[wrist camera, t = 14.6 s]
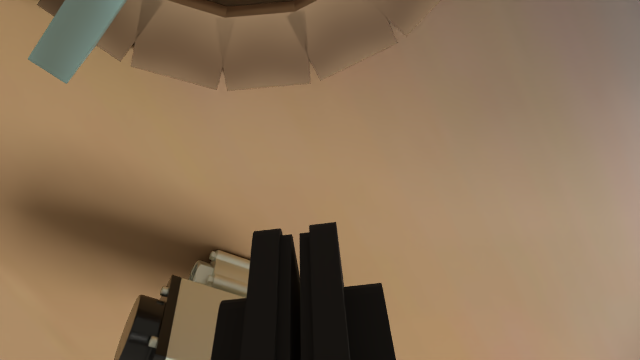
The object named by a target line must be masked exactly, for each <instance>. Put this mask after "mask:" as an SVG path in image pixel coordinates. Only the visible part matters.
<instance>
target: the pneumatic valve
mask: <svg viewBox="0 0 640 360" xmlns="http://www.w3.org/2000/svg"><path fill="white" fill-rule="evenodd" d="M209 259H210V260H212V261H211V263H206V262H203V261H200V260H198V261H197V262H196V263H195V265H194V267H193V269H192V271H191V274H190V277H189V280H187V279H184V278H181V277H178V276H174V275H172V276H171V278H170V280H169V282H168V284H167V286H166V287H165V286H163V287H162V289H161V292H160V295H161V298H160V300H158V299H155V298H152V297H148V296H145V295H139V296H138V298H137V299H136V301H135V303H134V305H133V308H132V310H131V312H130V315H129V317H128V320H127V322H126V325H125V327H124V330H123V333H122V336H121V339H120V342H119V345H118V348H117V351H116V354H115V358H114V360H211V354H212V347H213V341H214V335H215V328H216V322H217V316H218V309H219V305H220V303H221V301H222V300H231V299H240V298H246V296H247V287H248V277H249V267H250V260H247V259H244V258H241V257H238V256H235V255H232V254H229V253H226V252H223V251H220V250H217V251H215V252H214V251H212V252H211V254H210V257H209Z"/></svg>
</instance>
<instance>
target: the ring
mask: <svg viewBox="0 0 640 360" xmlns="http://www.w3.org/2000/svg"><path fill="white" fill-rule="evenodd" d="M440 1H441V0H294V1H286V2H275V3H263V4H252V5H240V6H228V7H227V6H224V5H221V4H218V3H214V2H211V1H208V0H40V1H39V2H38V4H37V5H38V6H40V7H41V8H42V9H44V10H45V11H47V12H48V13H50V14H51V15H53V16H54V18H53V20H52V21H51V23H50V25H49V26H48V28H47V29H46V31H45V32H44V34H43V36H42V37H41V39H40V40H39V42H38V43H37V45H36V47H35V48H34V50H33V51H32V53H31V54H30V56H29V58H28V60H30V61H31V62H33V63H35V64H36V65H38V66H39V67H41V68H42V69H44V70H46V71H47V72H49V73H50V74H52V75H53V76H55V77H56V78H58V79H60V80H61V81H63V82H64V83H66V84H67V83H68V82H69V80H70V79H71V78H72V76H73V75H74V74H75V72H76V71H77V70H78V68H79V67H80V66H81V64H82V63H83V62H84V60H85V59H86V58H87V56H88V55H89V54H90V53H91V51H92V50H93V49H94V47H95V46H96V45H97V46H98V47H100V48H101V49H103V50H104V51H105V52H107V53H108V54H110V55H111V56H113V57H114V58H116V59H117V60H119V61H121V60H122V59H123V57H124V56H125V55H126V53H127V52H128V50H129V49H130V48H131V46H132V45H133V43H134V42H135V45H134V51H133V56H132V62H131V67H134V68H138V69H142V70H145V71H149V72H153V73H156V74H160V75H164V76H167V77H171V78H175V79H178V80H182V81H186V82H189V83H193V84H196V85H200V86H204V87H207V88H211V89H215V90H217V87H218V83H219V79H220V76H221V72H222V68H223V69H224V75H225V81H226V87H227V91H232V90H244V89H255V88H266V87H277V86H288V85H299V84H311V81H310V68H309V60H310V62H311V64H312V66H313V68H314V69H315V71H316V73H317V75H318V77H319V79H320V81H321V80H323V79H325V78H327V77H329V76H331V75H333V74H335V73H337V72H339V71H341V70H344V69H346V68H348V67H350V66H352V65H354V64H356V63H358V62H360V61H362V60H364V59H366V58H368V57H370V56H372V55H374V54H376V53H378V52H380V51H382V50H384V49H386V48H388V47H390V46H393V45H395V44H397V40H396V38H395V36H394V33H393V31H392V29H391V26H390V24H389V22H388V20H389V21H390V22H391V23H392V24H393V25H394V26H395V27H397V28H398V29H399V30H400V31H401V32H402V33H403V34H404V35H405V36H407V35H408V34H409V33H410V32H411V31H412V30H413V29H414V28H415V27H416V26H417V25H418V24H419V23H420V22H421V21H422V20H423V19H424V18H425V17H426V15H427V14H428V13H429V12H430V11H431V10H432V9H433V8H434V7H435V6H436V5H437V4H438V3H439V2H440Z"/></svg>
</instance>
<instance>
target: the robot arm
mask: <svg viewBox="0 0 640 360" xmlns="http://www.w3.org/2000/svg"><path fill="white" fill-rule="evenodd" d="M309 231H310V232H309V233H300V276H299V270H298V264H297V259H296V253H295V248H294V242H293V237H292V235H282V231H281V229H272V230H263V231H254V232H253V238H252V248H251V257H250V267H249V277H248V287H247V296H246V298H240V299H231V300H222V301H221V303H220V305H219V309H218V316H217V322H216V328H215V335H214V341H213V347H212V354H211V360H396V358H395V352H394V347H393V342H392V336H391V331H390V325H389V320H388V315H387V309H386V304H385V299H384V293H383V288H382V284H381V283H376V284H367V285H358V286H349V287H344V283H343V275H342V267H341V259H340V251H339V242H338V234H337V226H336V222H333V223H324V224H316V225H310V226H309Z"/></svg>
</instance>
